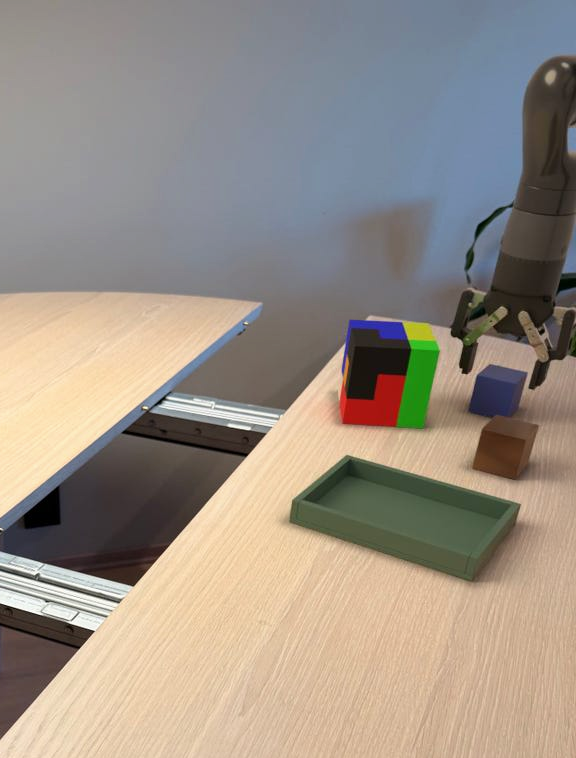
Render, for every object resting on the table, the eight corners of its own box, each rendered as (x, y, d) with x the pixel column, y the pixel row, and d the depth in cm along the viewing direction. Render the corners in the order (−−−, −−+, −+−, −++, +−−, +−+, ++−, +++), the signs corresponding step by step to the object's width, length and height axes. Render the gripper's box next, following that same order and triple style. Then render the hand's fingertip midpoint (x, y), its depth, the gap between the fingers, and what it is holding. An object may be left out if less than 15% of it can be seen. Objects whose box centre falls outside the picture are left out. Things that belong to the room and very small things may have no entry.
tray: (515, 525, 104) (521, 503, 102) (471, 581, 95) (477, 558, 93) (343, 475, 113) (346, 454, 111) (288, 521, 104) (291, 499, 102)
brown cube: (527, 464, 115) (539, 424, 113) (514, 480, 112) (526, 439, 109) (485, 453, 118) (495, 414, 115) (471, 468, 115) (481, 428, 112)
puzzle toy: (337, 393, 133) (349, 319, 127) (413, 397, 132) (428, 323, 126) (342, 423, 125) (355, 346, 119) (423, 428, 124) (439, 350, 118)
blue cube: (518, 408, 129) (528, 372, 126) (506, 421, 126) (516, 383, 123) (480, 399, 131) (489, 363, 128) (467, 411, 128) (476, 374, 125)
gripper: (604, 252, 116) (564, 384, 125) (484, 232, 122) (454, 359, 132) (588, 267, 111) (547, 403, 120) (464, 245, 117) (434, 376, 127)
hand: (498, 379), depth 126 cm, fingers open, 8 cm apart
